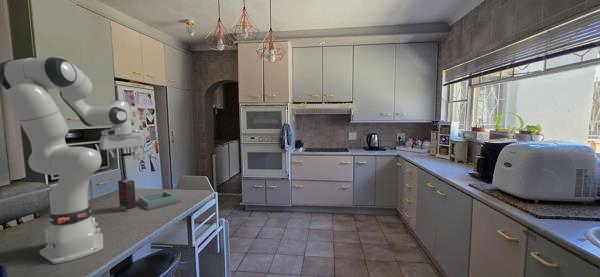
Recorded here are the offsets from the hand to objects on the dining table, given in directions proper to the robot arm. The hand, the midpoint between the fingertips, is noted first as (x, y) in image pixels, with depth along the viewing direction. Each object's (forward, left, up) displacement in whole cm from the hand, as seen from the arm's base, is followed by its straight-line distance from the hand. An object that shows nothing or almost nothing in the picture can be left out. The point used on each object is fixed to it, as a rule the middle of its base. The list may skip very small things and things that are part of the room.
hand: (124, 156), depth 140 cm
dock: (-1, -15, -29) cm, 33 cm away
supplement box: (0, 0, -30) cm, 30 cm away
